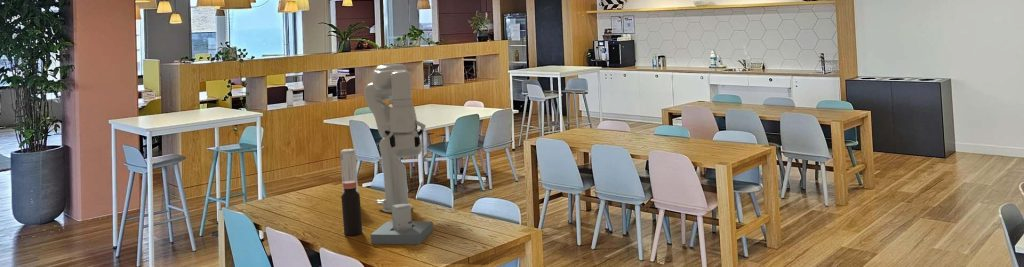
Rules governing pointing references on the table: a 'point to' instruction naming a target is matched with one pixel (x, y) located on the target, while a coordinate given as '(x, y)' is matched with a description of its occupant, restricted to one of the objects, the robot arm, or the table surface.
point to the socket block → (402, 233)
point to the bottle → (351, 209)
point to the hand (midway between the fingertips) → (405, 146)
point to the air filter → (348, 166)
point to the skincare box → (401, 217)
